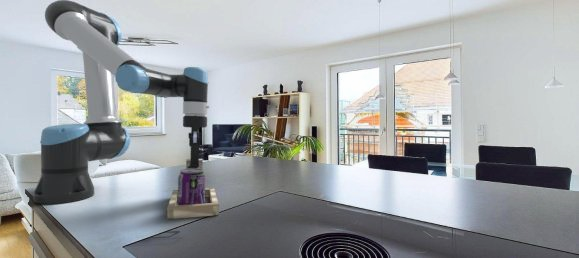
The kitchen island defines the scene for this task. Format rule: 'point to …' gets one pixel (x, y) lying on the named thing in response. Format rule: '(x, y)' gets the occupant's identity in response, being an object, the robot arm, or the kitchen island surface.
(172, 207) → the can sled
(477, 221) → the kitchen island surface
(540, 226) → the kitchen island surface
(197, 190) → the beverage can
